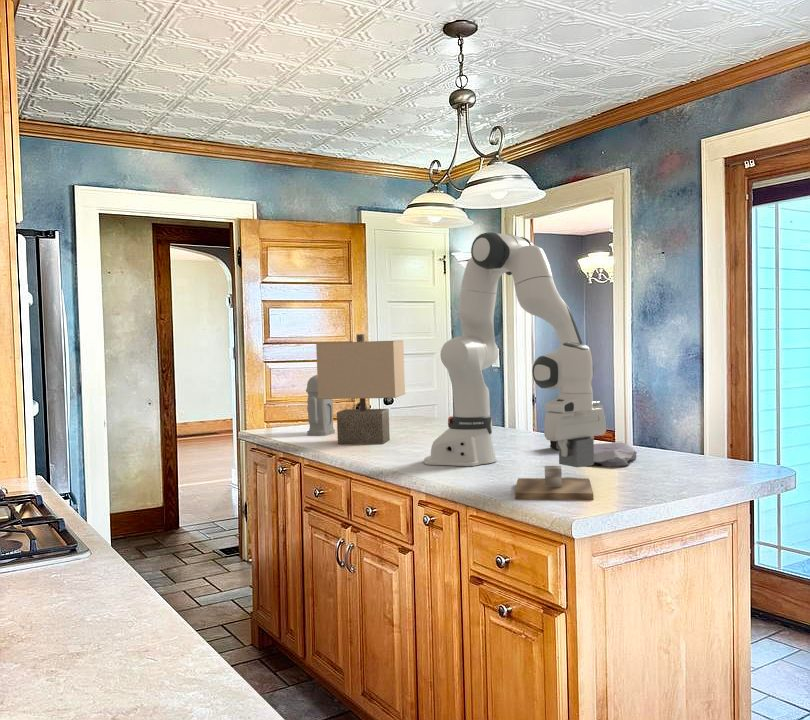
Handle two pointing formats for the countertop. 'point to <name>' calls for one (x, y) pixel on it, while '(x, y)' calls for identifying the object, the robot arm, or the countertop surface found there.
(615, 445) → the stone
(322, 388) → the lamp
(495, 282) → the robot arm
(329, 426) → the grey tall figure
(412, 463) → the countertop surface
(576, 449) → the grey block with cylinder
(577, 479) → the brown square plate
